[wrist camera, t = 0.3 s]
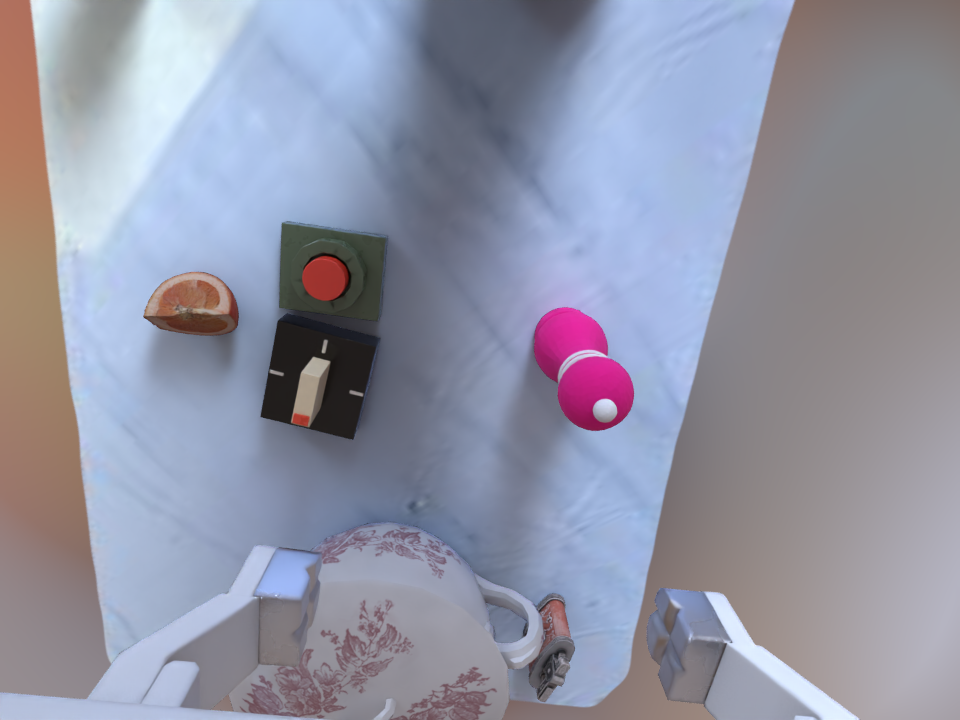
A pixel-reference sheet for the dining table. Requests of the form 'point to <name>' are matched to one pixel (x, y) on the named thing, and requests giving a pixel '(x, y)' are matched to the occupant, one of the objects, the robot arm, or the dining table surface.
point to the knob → (310, 391)
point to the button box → (350, 247)
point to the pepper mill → (582, 369)
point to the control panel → (344, 379)
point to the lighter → (551, 648)
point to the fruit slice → (193, 305)
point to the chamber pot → (397, 636)
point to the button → (325, 278)
